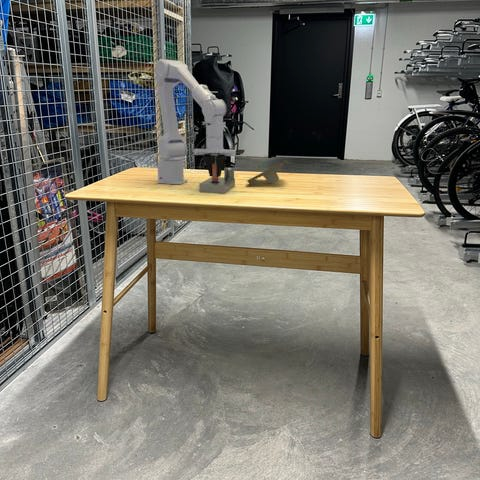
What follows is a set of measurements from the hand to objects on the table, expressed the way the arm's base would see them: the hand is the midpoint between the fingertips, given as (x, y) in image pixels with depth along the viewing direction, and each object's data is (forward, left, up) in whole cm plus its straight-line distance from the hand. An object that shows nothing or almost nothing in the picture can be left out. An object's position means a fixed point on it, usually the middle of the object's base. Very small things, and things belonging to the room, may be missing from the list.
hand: (215, 176), depth 149 cm
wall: (+14, +19, -6) cm, 24 cm away
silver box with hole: (0, +3, -5) cm, 6 cm away
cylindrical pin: (0, 0, -2) cm, 2 cm away
